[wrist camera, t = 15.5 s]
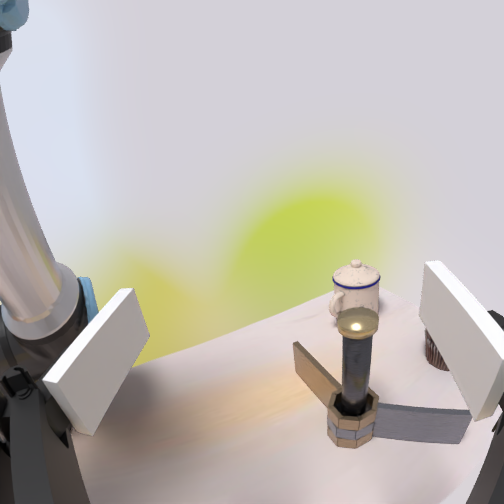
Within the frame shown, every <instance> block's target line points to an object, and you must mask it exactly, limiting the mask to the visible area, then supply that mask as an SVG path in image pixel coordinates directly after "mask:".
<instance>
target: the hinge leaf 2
mask: <svg viewBox="0 0 504 504" xmlns="http://www.w3.org/2000/svg"><path fill="white" fill-rule="evenodd" d="M376 407H377V412H376V418H375V421H374V422H372V423H371V424H369V425H367V426H366V427H364V428H362V429H361V430H358V431H355V430H346V429H339V428H337V427H336V426H335V424H334V423H333V422H332V421H331V420H330V419H329V418H328V415H327V425H328V426H329V428H330V429H331V431H332V432H333V434H334V435H335V436H336V437H339V438H344V439H349V440H357V439H359V438H361V437H363V436H365V435H367V434H369V433H371V432H372V430H373V433H372V436H375V437H382V438H390V439H399V440H408V441H419V442H433V443H451V444H459V443H460V441H461V439H462V437H463V435H464V433H465V431H466V429H467V427H468V425H469V423H470V421H471V419H472V415H471V413H470V411H469V410H456V409H437V408H423V407H412V406H402V405H393V404H384V403H378V406H376ZM376 407H375V408H376ZM335 408H336V409H337V411H338V412H341V402H340V403H338V404H336V407H335ZM371 409H372V407H371V406H370V405H369V404H368V403H367V402H366V410H365V412H368V411H370V410H371Z"/></svg>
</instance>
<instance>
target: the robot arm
mask: <svg viewBox="0 0 504 504" xmlns="http://www.w3.org/2000/svg"><path fill="white" fill-rule="evenodd" d="M28 14H29V6H28V0H0V70H1V68H2V66H3V65H4V63H5V62H6V60H7V58H8V57H9V55H10V54H11V52H12V40H11V31H16V29H19V28H20V27H21V26H22V25H24V24H25V23H26V21H27V18H28ZM0 301H1V302H2V305H0V504H90V501H89V498H88V495H87V492H86V489H85V486H84V483H83V480H82V476H81V473H80V469H79V466H78V462H77V458H76V454H75V450H74V446H73V442H72V438H71V434H70V429H71V424H72V425H73V427H74V428H75V429H76V431H77V432H78V433H82V434H86V435H90V436H93V435H94V433H95V431H96V429H97V427H98V426H99V424H100V422H101V420H102V418H103V417H104V415H105V413H106V411H107V409H108V408H109V406H110V404H111V402H112V401H113V399H114V397H115V395H116V393H117V392H118V390H119V388H120V386H121V385H122V383H123V381H124V379H125V378H126V376H127V374H128V373H129V371H130V369H131V367H132V366H133V364H134V362H135V361H136V359H137V357H138V355H139V354H140V352H141V350H142V349H143V347H144V345H145V344H146V342H147V340H148V339H149V337H150V334H149V332H148V329H147V326H146V323H145V320H144V318H143V315H142V312H141V309H140V306H139V303H138V300H137V297H136V294H135V291H134V288H125V289H120V290H119V291H118V292H117V293H116V294H115V295H114V296H113V297H112V298H111V300H110V301H109V302H108V303H107V304H106V305H105V306H104V307H103V308H102V310H101V311H100V312H98V308H97V304H96V300H95V296H94V292H93V287H92V283H91V280H90V278H88V277H78V278H76V276H75V275H74V273H73V272H72V270H71V269H70V268H68V267H67V266H65V265H63V264H61V263H57V262H56V261H55V259H54V257H53V255H52V252H51V250H50V248H49V245H48V243H47V241H46V238H45V236H44V234H43V231H42V229H41V226H40V224H39V221H38V219H37V216H36V214H35V211H34V208H33V206H32V203H31V200H30V197H29V195H28V192H27V189H26V186H25V183H24V180H23V177H22V174H21V170H20V167H19V164H18V160H17V157H16V153H15V150H14V146H13V142H12V139H11V135H10V131H9V127H8V122H7V119H6V113H5V109H4V104H3V99H2V93H1V87H0ZM419 317H420V319H421V320H422V322H423V324H424V325H425V327H426V329H427V331H428V332H429V334H430V336H431V338H432V339H433V341H434V343H435V345H436V346H437V348H438V350H439V352H440V354H441V355H442V357H443V359H444V361H445V363H446V365H447V367H448V369H449V370H450V372H451V374H452V376H453V378H454V380H455V382H456V384H457V386H458V388H459V390H460V392H461V394H462V396H463V398H464V400H465V402H466V404H467V406H468V409H469V411H470V413H471V415H472V417H473V419H474V421H475V422H476V421H479V420H482V419H484V418H487V417H490V416H492V415H493V413H494V412H495V410H496V408H497V406H498V404H499V405H500V407H501V409H502V411H503V412H502V414H501V415H500V417H499V419H498V421H497V422H496V424H495V426H494V428H493V429H492V432H494V431H495V433H494V436H493V439H492V442H491V445H490V448H489V451H488V453H487V456H486V459H485V461H484V464H483V466H482V469H481V471H480V474H479V476H478V478H477V481H476V483H475V485H474V488H473V490H472V492H471V494H470V496H469V498H468V500H467V502H466V504H504V317H503V316H501V315H500V314H498V313H496V312H495V311H493V310H491V311H486V310H485V309H484V307H483V306H482V305H481V304H480V303H479V302H478V301H477V300H476V298H475V297H474V296H473V295H472V294H471V293H470V292H469V291H468V290H467V289H466V287H465V286H464V285H463V284H462V283H461V282H460V281H459V280H458V279H457V278H456V277H455V276H454V275H453V274H452V273H451V272H450V270H449V269H448V268H447V267H446V266H445V265H444V264H443V263H442V262H441V261H439V260H438V261H430V262H425V264H424V276H423V287H422V295H421V303H420V310H419ZM495 429H496V430H495Z"/></svg>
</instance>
